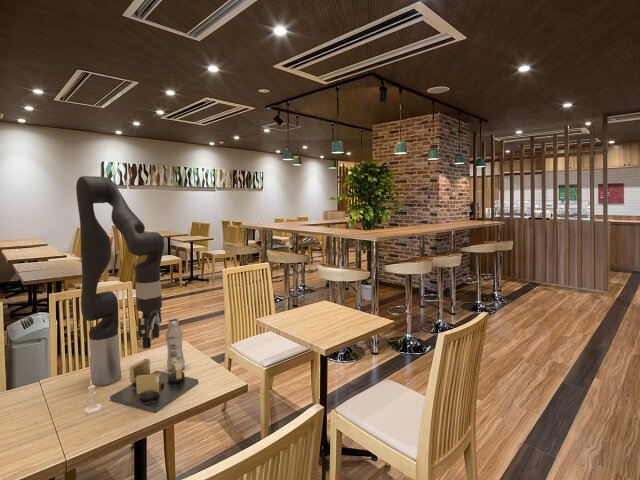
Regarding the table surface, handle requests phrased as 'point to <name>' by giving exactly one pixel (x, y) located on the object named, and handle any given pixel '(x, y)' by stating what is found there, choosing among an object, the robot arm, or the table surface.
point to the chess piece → (92, 402)
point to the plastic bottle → (174, 342)
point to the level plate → (164, 398)
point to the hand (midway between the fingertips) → (151, 342)
